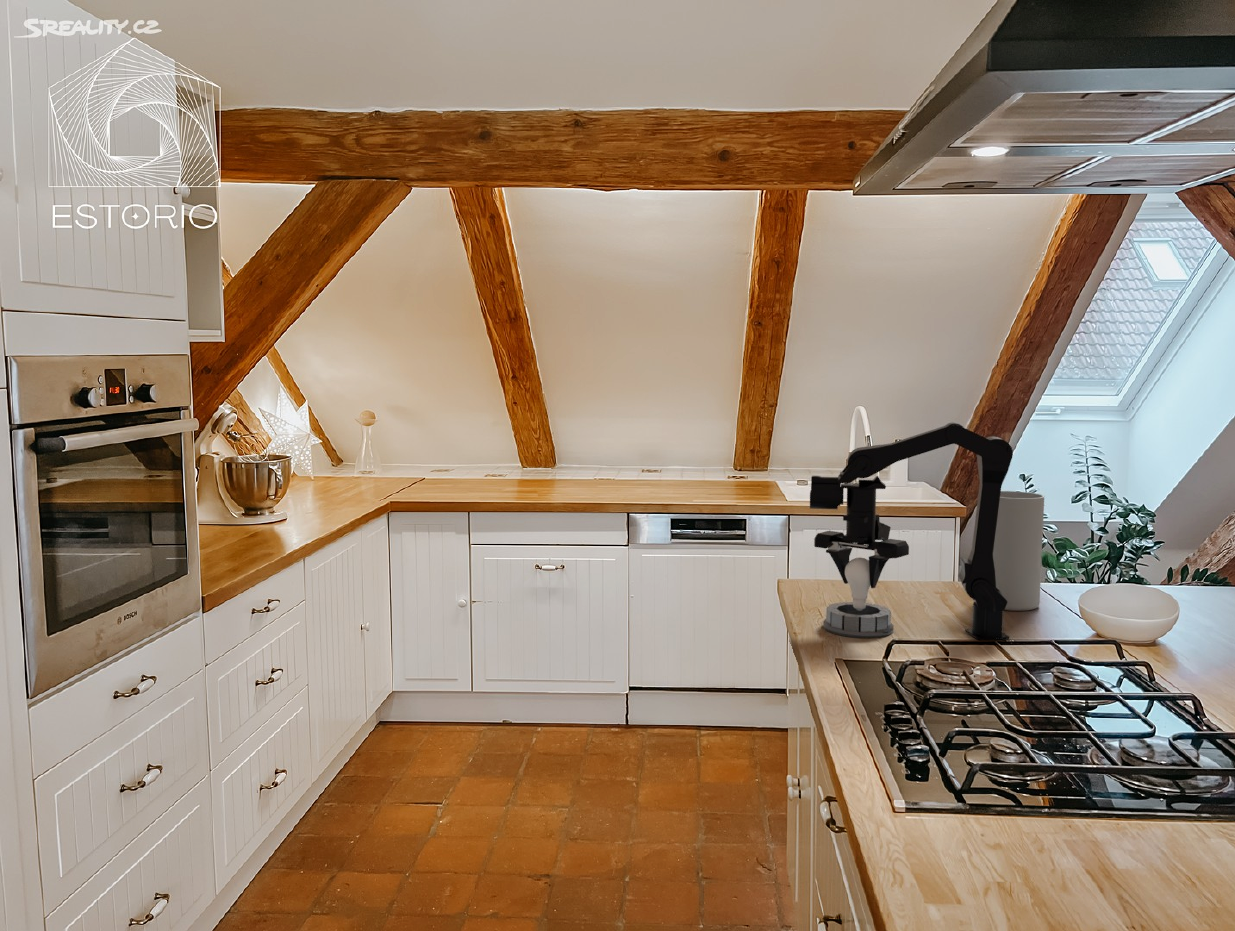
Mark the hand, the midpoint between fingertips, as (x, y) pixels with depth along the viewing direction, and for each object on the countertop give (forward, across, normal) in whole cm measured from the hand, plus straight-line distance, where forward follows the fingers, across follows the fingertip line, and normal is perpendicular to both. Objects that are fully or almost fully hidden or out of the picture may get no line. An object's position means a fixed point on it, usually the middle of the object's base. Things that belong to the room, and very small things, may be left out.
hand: (859, 585), depth 198 cm
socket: (+9, 0, 0) cm, 9 cm away
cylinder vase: (+9, -14, -41) cm, 44 cm away
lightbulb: (+5, 0, 0) cm, 5 cm away
